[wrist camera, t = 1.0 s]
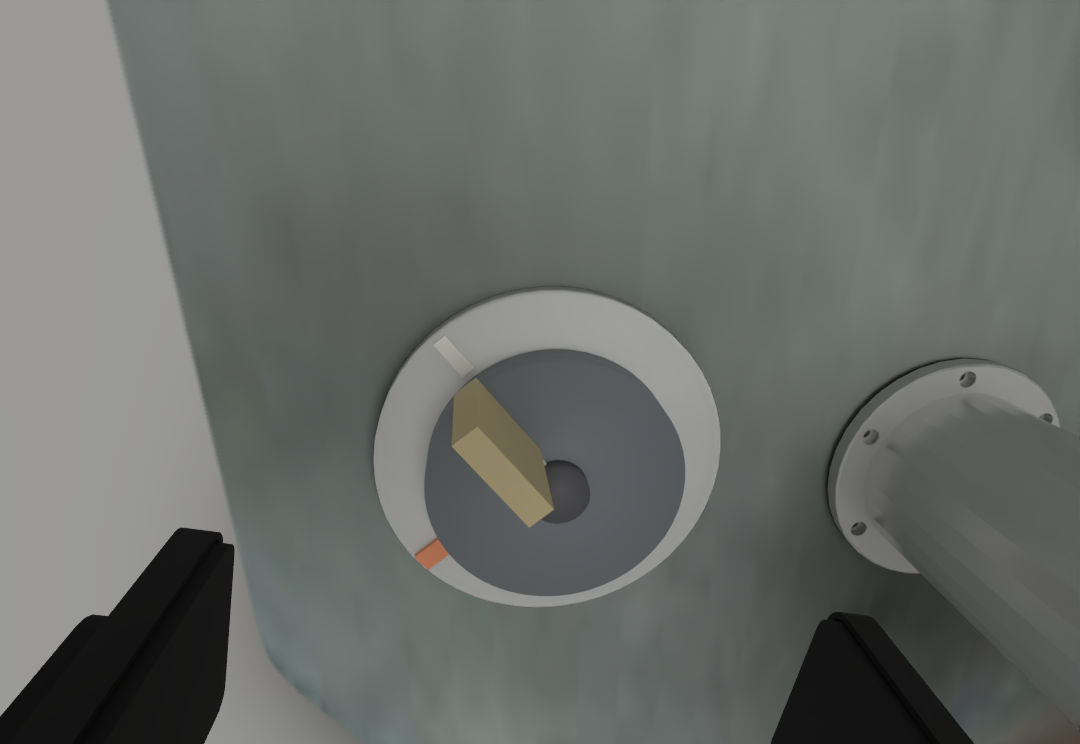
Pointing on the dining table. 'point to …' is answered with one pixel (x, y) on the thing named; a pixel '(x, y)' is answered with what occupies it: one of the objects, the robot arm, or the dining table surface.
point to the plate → (516, 330)
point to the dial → (553, 473)
